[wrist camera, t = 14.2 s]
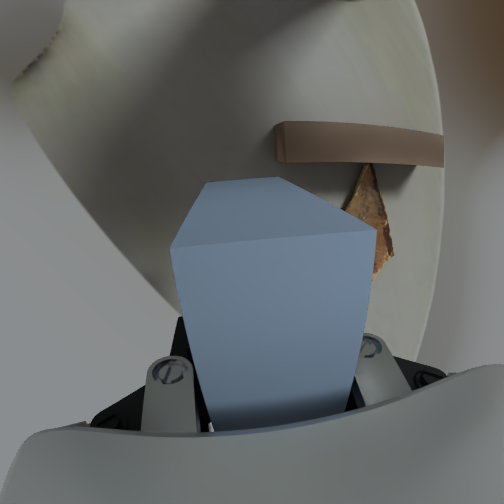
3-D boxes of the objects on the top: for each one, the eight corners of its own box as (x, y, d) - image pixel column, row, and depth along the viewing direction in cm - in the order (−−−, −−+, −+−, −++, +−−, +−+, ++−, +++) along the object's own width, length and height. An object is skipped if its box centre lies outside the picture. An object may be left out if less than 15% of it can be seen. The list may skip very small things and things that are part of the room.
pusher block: (229, 367, 15) (239, 498, 7) (206, 182, 11) (168, 248, 4) (282, 361, 15) (317, 486, 7) (278, 176, 11) (377, 229, 4)
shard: (363, 159, 23) (372, 160, 22) (415, 196, 25) (425, 200, 24) (311, 258, 27) (317, 266, 25) (368, 284, 28) (375, 292, 27)
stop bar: (274, 125, 21) (283, 121, 18) (418, 134, 22) (443, 135, 19) (276, 160, 22) (286, 162, 19) (418, 163, 23) (443, 167, 20)
